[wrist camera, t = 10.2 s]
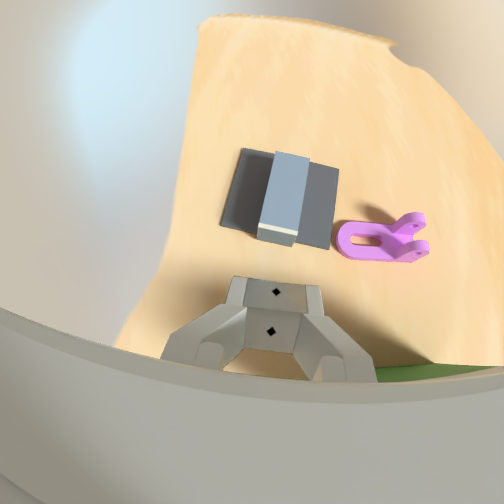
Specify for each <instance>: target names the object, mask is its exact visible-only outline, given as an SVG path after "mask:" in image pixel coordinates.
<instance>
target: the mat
mask: <svg viewBox="0 0 504 504" xmlns="http://www.w3.org/2000/svg"><path fill="white" fill-rule="evenodd" d="M274 156H275V154H273V153H268V152H263V151H257V150H252V149H247V148H243V151H242V154H241V158H240V161H239V164H238V168H237V171H236V174H235V178H234V181H233V184H232V188H231V191H230V195H229V198H228V202H227V205H226V209H225V212H224V216H223V219H222V223H221V226H223V227H227V228H232V229H237V230H241V231H246V232H250V233H255V234H257V231H258V225H259V221H260V217H261V212H262V208H263V204H264V199H265V195H266V191H267V186H268V182H269V178H270V174H271V169H272V165H273V161H274ZM338 175H339V169H337V168H333V167H329V166H325V165H321V164H317V163H313V162H309V168H308V174H307V180H306V186H305V192H304V198H303V204H302V210H301V216H300V222H299V227H298V234H297V237H296V239H295V241H294V242H296V243H300V244H304V245H309V246H313V247H318V248H322V249H326V250H329V247H330V240H331V233H332V226H333V219H334V211H335V202H336V194H337V185H338Z"/></svg>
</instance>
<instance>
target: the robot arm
mask: <svg viewBox="0 0 504 504" xmlns="http://www.w3.org/2000/svg"><path fill="white" fill-rule="evenodd" d="M243 348H248V349H258V350H268V351H275V352H283V353H291V354H292V355H293V356H294V358H295V359H296V361H297V363H298V364H299V366H300V367H301V369H302V370H303V372H304V373H305V375H306V376H307V378H308V379H309V380H295V379H284V378H273V377H264V376H255V375H247V374H240V373H233V372H226V371H223V368H224V367H225V366H226V365H227V364H228V363H229V362H230V361H232V360H233V359H234V358H235V357H236V356H237V355H238V354H239V353H240V352H241V351H242V350H243ZM0 504H504V372H501V373H495V374H488V375H481V376H474V377H465V378H456V379H446V380H433V381H418V382H394V383H378V381H377V377H376V372H375V368H374V364H373V360H372V357H371V356H370V355H369V354H368V353H367V352H366V351H365V350H364V349H363V348H362V347H361V346H360V345H358V344H357V343H356V342H355V341H354V340H353V339H352V338H351V337H350V336H349V335H348V334H347V333H346V332H345V331H344V330H343V329H342V328H341V327H339V326H338V325H337V324H336V323H335V322H334V321H333V320H332V319H331V318H330V317H329V316H324V310H323V303H322V297H321V291H320V287H319V286H314V285H299V284H289V283H279V282H274V281H267V280H260V279H254V278H247V277H239V276H233V278H232V281H231V285H230V288H229V292H228V295H227V299H226V302H225V304H222V303H221V304H219V305H217V306H216V307H214V308H213V309H211V310H209V311H208V312H206V313H205V314H203V315H201V316H200V317H198V318H196V319H195V320H193V321H192V322H190V323H188V324H187V325H185V326H183V327H182V328H180V329H178V330H177V331H175V332H174V333H172V334H171V335H170V337H169V339H168V342H167V344H166V346H165V348H164V351H163V353H162V355H161V358H160V359H157V358H153V357H148V356H144V355H140V354H136V353H132V352H128V351H124V350H121V349H117V348H113V347H110V346H106V345H103V344H99V343H96V342H92V341H89V340H86V339H82V338H79V337H77V336H73V335H70V334H67V333H64V332H61V331H59V330H56V329H53V328H50V327H47V326H45V325H42V324H39V323H37V322H34V321H31V320H29V319H27V318H24V317H21V316H19V315H17V314H14V313H12V312H9V311H7V310H5V309H3V308H0Z"/></svg>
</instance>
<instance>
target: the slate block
mask: <svg viewBox="0 0 504 504" xmlns="http://www.w3.org/2000/svg"><path fill="white" fill-rule="evenodd" d="M309 161H310V158H305V157H301V156H297V155H292V154H287V153H283V152H278V151H276V152H275V156H274V161H273V165H272V169H271V174H270V178H269V182H268V186H267V191H266V195H265V199H264V204H263V208H262V212H261V217H260V221H259V225H258V231H257V240H261V241H266V242H270V243H275V244H279V245H284V246H288V247H292V245H293V243H294V241H295V239H296V237H297V234H298V227H299V222H300V216H301V210H302V204H303V198H304V192H305V186H306V180H307V174H308V168H309Z"/></svg>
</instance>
